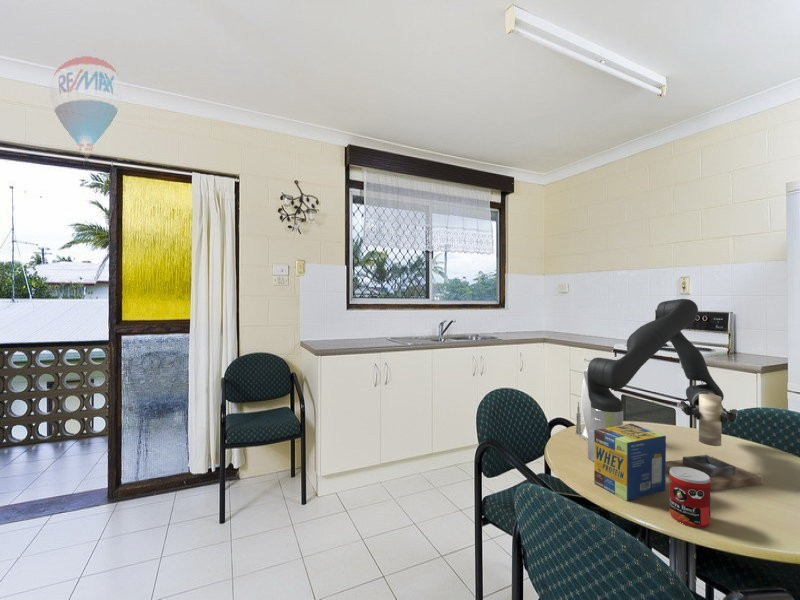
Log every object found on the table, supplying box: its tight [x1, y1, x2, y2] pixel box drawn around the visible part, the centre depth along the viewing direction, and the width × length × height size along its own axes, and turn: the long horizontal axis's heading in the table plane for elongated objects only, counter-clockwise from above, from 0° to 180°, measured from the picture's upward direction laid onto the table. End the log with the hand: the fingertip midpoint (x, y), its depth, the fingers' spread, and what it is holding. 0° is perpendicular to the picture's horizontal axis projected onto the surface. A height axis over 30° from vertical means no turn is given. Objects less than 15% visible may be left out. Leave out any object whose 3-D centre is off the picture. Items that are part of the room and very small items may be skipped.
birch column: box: [698, 394, 723, 447], centre depth 113 cm, size 5×5×14 cm
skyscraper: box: [575, 367, 591, 441], centre depth 144 cm, size 8×8×28 cm
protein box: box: [593, 423, 667, 502], centre depth 106 cm, size 10×15×16 cm
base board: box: [666, 454, 763, 491], centre depth 112 cm, size 20×14×4 cm
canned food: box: [668, 467, 712, 529], centre depth 90 cm, size 8×8×11 cm
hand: (710, 418), depth 111 cm, fingers closed on birch column, 5 cm apart
